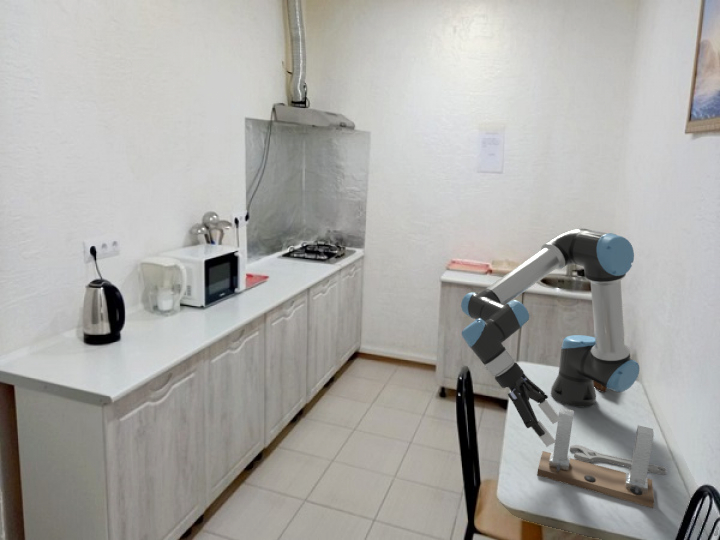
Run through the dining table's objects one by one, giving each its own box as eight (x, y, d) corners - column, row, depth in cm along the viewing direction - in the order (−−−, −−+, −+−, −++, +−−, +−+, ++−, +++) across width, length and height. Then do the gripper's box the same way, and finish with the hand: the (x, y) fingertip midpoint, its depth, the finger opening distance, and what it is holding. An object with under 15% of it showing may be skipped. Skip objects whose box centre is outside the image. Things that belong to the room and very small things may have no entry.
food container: (591, 378, 209) (595, 354, 207) (608, 382, 206) (612, 358, 204) (587, 389, 199) (590, 364, 196) (605, 393, 196) (608, 368, 193)
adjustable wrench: (665, 472, 149) (666, 466, 149) (667, 484, 143) (668, 478, 143) (570, 448, 159) (571, 442, 159) (569, 458, 153) (570, 453, 153)
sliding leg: (550, 456, 149) (557, 405, 146) (569, 461, 147) (577, 410, 144) (548, 468, 143) (555, 416, 140) (567, 474, 141) (575, 421, 138)
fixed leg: (625, 477, 141) (634, 423, 138) (646, 483, 139) (656, 428, 136) (625, 491, 136) (635, 435, 132) (647, 497, 133) (657, 440, 130)
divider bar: (541, 457, 153) (542, 450, 153) (650, 486, 141) (652, 479, 141) (537, 475, 144) (538, 468, 144) (652, 508, 133) (654, 500, 132)
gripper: (502, 361, 160) (548, 418, 157) (483, 393, 138) (536, 460, 135) (522, 348, 156) (569, 406, 154) (506, 378, 135) (561, 448, 132)
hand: (554, 432), depth 144 cm, fingers open, 13 cm apart
